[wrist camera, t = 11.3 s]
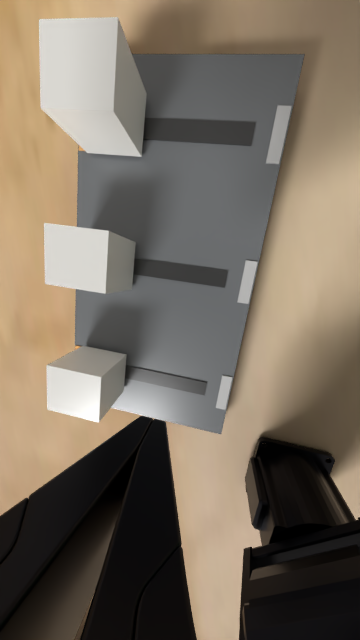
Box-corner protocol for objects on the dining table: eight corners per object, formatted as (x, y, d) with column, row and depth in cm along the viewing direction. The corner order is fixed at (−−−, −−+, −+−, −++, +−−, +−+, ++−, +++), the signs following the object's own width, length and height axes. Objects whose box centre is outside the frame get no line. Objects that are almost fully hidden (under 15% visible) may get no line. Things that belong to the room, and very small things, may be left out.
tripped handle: (146, 93, 13) (117, 17, 9) (141, 156, 14) (113, 110, 10) (88, 92, 14) (39, 19, 10) (87, 153, 14) (40, 107, 10)
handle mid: (135, 242, 15) (108, 230, 11) (131, 289, 16) (105, 293, 12) (86, 235, 16) (44, 223, 12) (84, 282, 16) (45, 283, 13)
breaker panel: (291, 85, 14) (305, 52, 12) (220, 418, 20) (221, 435, 18) (96, 81, 15) (78, 52, 13) (86, 387, 21) (73, 399, 19)
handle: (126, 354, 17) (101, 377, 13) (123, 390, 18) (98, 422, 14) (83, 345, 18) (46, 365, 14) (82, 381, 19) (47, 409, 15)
